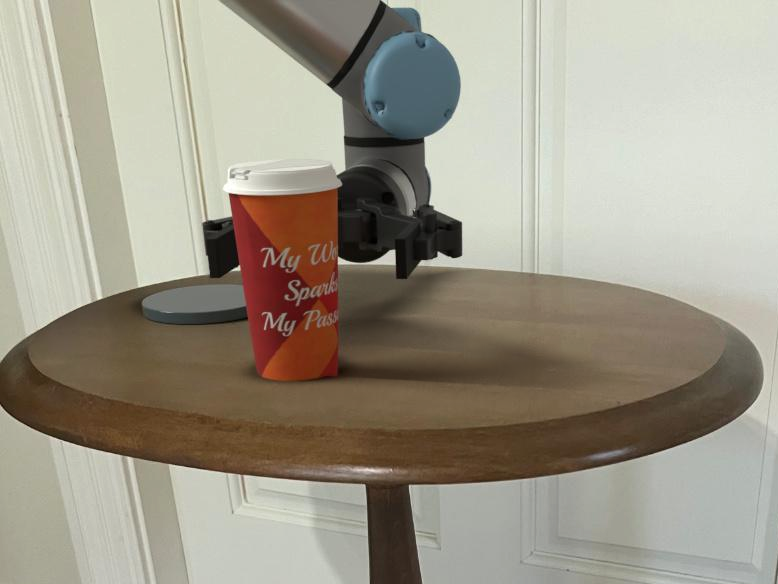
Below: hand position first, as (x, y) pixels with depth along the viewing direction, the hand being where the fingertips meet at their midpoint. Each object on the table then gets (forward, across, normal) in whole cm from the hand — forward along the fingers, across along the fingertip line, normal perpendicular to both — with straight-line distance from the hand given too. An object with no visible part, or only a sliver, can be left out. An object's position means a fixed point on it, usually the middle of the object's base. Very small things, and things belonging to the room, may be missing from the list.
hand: (305, 259), depth 76 cm
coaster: (-16, +14, -7) cm, 22 cm away
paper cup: (+4, 0, -8) cm, 8 cm away
